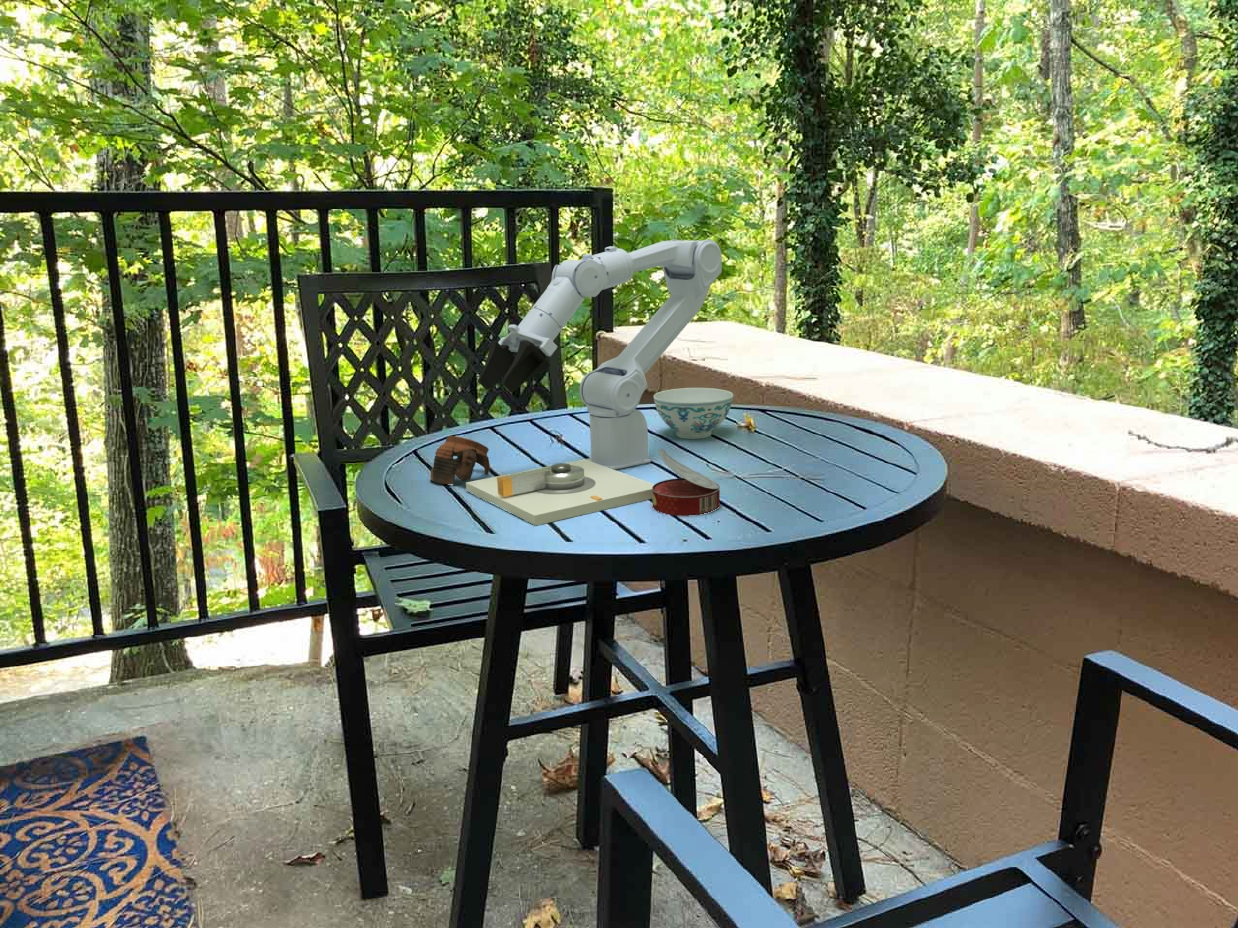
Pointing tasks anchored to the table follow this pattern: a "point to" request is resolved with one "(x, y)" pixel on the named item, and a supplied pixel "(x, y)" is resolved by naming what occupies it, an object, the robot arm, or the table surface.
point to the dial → (542, 479)
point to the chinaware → (693, 410)
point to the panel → (568, 495)
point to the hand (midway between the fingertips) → (494, 386)
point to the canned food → (685, 491)
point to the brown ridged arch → (458, 460)
